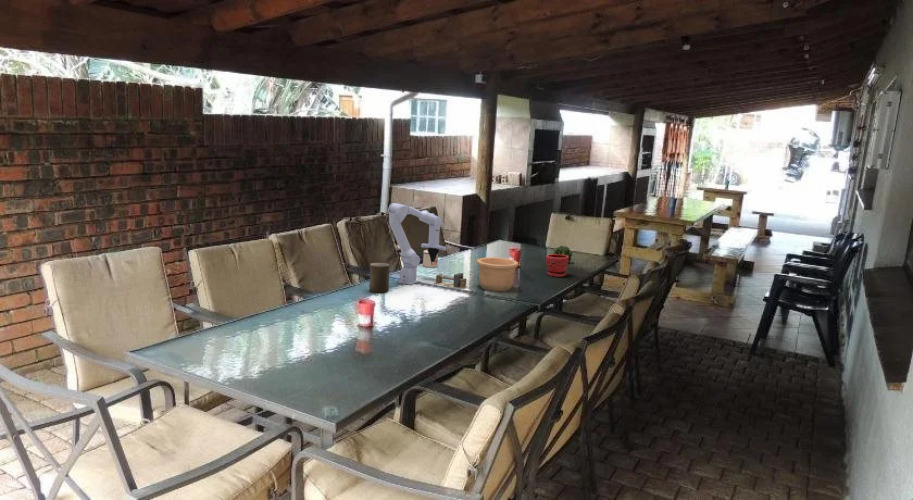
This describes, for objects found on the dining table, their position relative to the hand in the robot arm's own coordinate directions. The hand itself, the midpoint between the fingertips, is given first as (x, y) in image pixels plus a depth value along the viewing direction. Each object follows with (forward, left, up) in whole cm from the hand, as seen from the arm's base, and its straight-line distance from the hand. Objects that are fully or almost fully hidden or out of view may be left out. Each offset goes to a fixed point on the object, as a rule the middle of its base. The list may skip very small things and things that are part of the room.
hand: (432, 261), depth 360 cm
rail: (-6, -15, -10) cm, 19 cm away
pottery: (+6, -36, -10) cm, 38 cm away
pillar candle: (-40, +8, -10) cm, 42 cm away
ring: (-6, -19, -10) cm, 23 cm away
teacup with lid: (+31, +18, -10) cm, 37 cm away
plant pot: (+58, -52, -10) cm, 79 cm away
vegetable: (+95, -44, -10) cm, 105 cm away
